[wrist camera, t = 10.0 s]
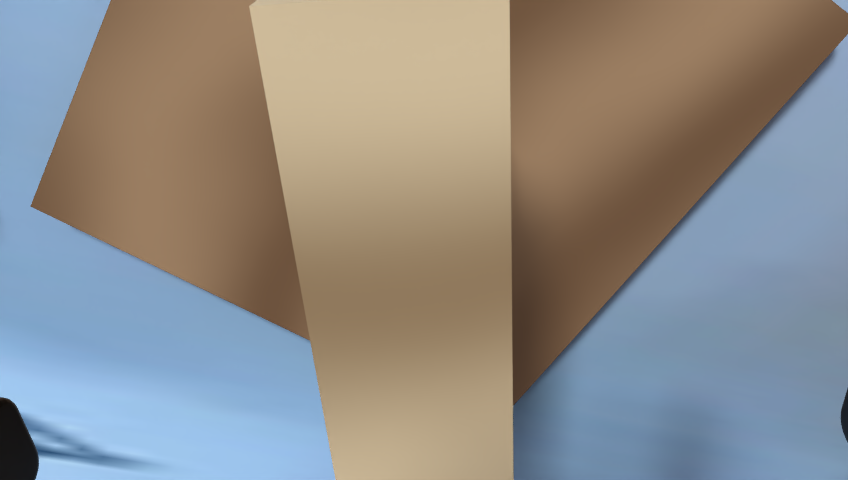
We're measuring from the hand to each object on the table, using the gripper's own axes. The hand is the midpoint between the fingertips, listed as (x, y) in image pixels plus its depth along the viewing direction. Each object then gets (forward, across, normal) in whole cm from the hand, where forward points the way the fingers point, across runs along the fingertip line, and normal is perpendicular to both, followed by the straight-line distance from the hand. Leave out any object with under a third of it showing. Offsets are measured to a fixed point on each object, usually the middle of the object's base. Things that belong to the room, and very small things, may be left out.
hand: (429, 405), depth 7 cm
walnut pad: (+11, 0, 0) cm, 11 cm away
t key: (+10, 0, 0) cm, 10 cm away
